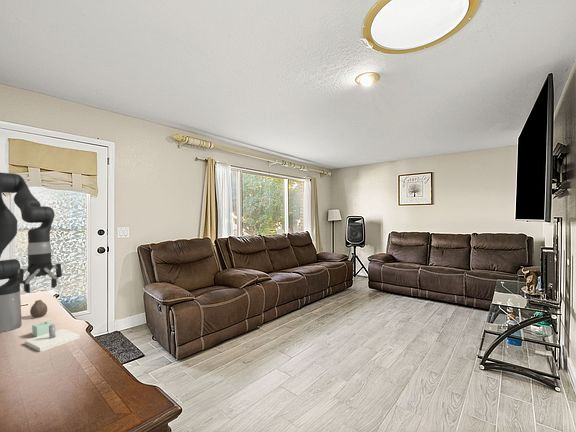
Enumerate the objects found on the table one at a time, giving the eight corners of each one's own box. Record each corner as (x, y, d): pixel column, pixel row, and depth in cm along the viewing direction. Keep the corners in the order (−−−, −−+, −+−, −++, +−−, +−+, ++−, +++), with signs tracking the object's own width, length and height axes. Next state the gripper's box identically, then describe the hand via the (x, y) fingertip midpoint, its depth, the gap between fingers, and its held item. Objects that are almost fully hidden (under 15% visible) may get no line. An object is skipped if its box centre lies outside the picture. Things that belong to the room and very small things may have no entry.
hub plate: (25, 344, 114) (24, 327, 114) (63, 332, 125) (62, 316, 125) (40, 351, 106) (39, 333, 106) (79, 338, 117) (78, 321, 117)
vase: (37, 319, 146) (36, 302, 146) (27, 318, 147) (26, 302, 147) (50, 314, 153) (50, 298, 153) (40, 314, 154) (40, 298, 154)
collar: (32, 335, 124) (32, 325, 124) (48, 330, 128) (47, 320, 129) (37, 337, 121) (36, 326, 121) (53, 332, 126) (52, 322, 126)
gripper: (56, 250, 127) (57, 285, 127) (14, 254, 115) (15, 293, 115) (63, 250, 123) (64, 287, 123) (20, 255, 111) (21, 295, 111)
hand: (41, 290), depth 119 cm, fingers open, 8 cm apart
